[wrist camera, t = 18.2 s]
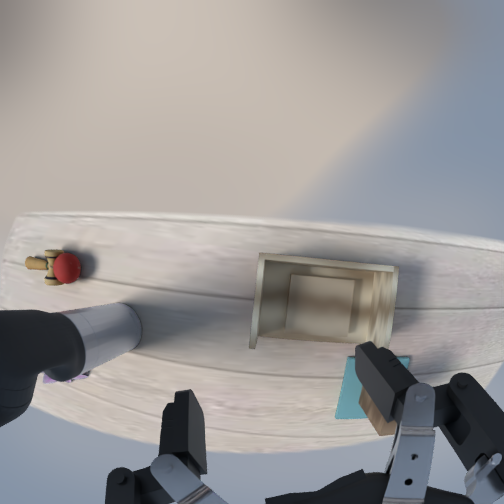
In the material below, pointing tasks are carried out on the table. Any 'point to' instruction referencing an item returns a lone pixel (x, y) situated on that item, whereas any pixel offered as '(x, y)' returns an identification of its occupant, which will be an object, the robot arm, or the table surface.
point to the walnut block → (375, 415)
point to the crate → (323, 300)
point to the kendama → (57, 267)
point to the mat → (354, 392)
